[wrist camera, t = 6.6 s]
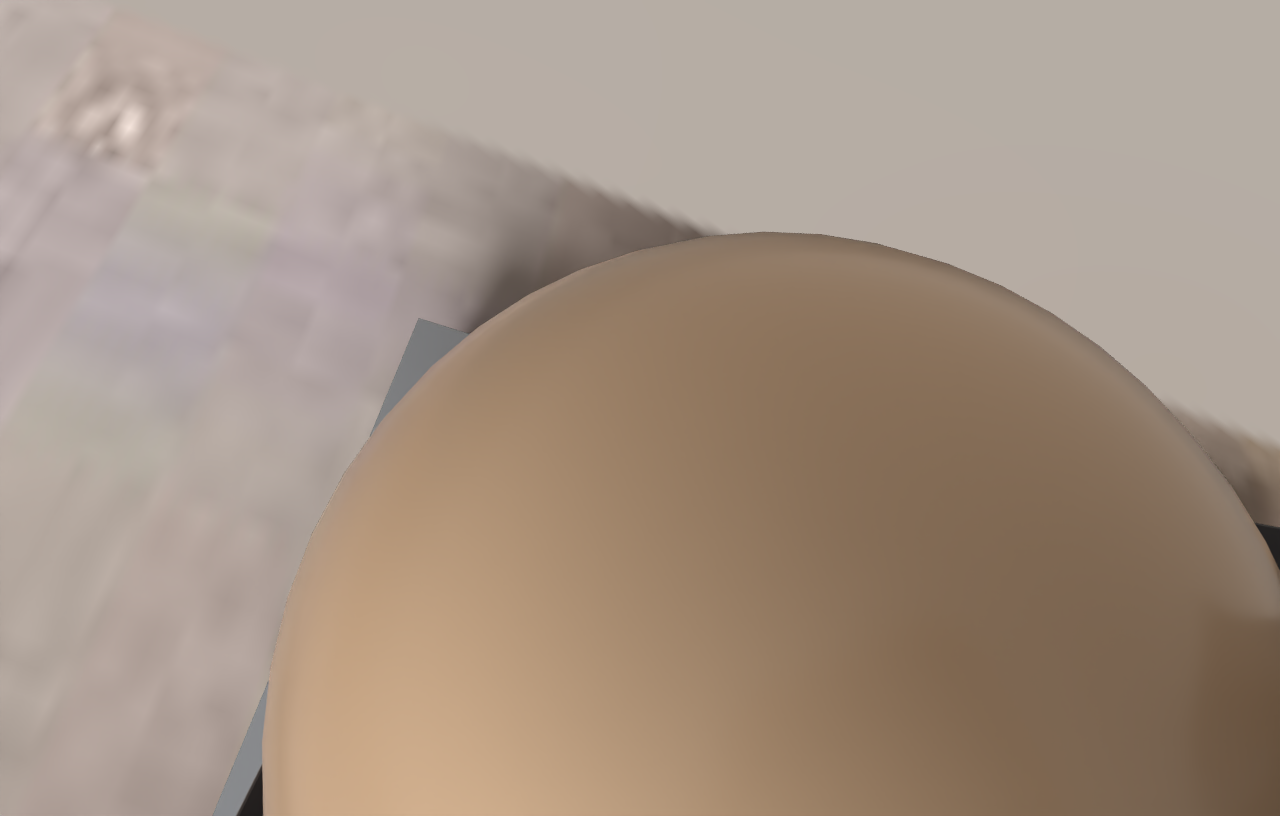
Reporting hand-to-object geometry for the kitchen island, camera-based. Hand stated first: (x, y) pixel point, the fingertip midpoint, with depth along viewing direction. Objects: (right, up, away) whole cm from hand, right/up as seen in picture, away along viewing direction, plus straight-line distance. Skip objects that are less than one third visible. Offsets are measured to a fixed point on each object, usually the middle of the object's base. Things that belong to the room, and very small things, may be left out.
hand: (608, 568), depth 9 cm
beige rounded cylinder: (0, -3, +6) cm, 7 cm away
